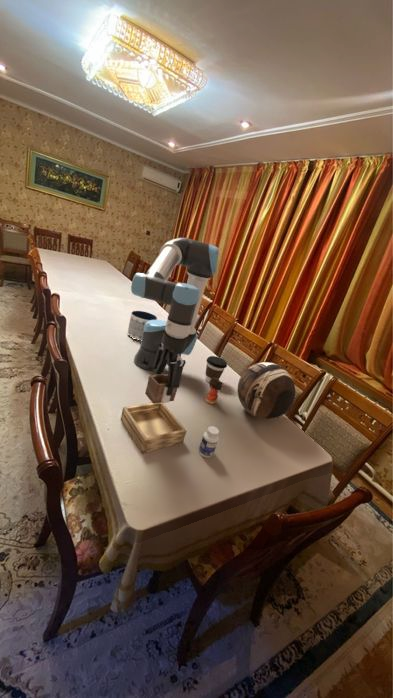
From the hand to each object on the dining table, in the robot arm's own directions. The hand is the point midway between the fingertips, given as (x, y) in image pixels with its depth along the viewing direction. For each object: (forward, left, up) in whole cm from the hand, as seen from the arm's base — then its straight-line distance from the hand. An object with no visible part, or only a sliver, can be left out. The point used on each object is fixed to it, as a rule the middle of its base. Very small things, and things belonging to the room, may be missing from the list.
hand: (160, 396), depth 98 cm
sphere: (-53, +4, -15) cm, 55 cm away
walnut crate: (0, 0, 0) cm, 0 cm away
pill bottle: (-13, +16, -15) cm, 25 cm away
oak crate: (0, 0, -14) cm, 14 cm away
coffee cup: (-49, -26, -15) cm, 57 cm away
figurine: (-36, -10, -15) cm, 40 cm away
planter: (-34, -82, -15) cm, 90 cm away
